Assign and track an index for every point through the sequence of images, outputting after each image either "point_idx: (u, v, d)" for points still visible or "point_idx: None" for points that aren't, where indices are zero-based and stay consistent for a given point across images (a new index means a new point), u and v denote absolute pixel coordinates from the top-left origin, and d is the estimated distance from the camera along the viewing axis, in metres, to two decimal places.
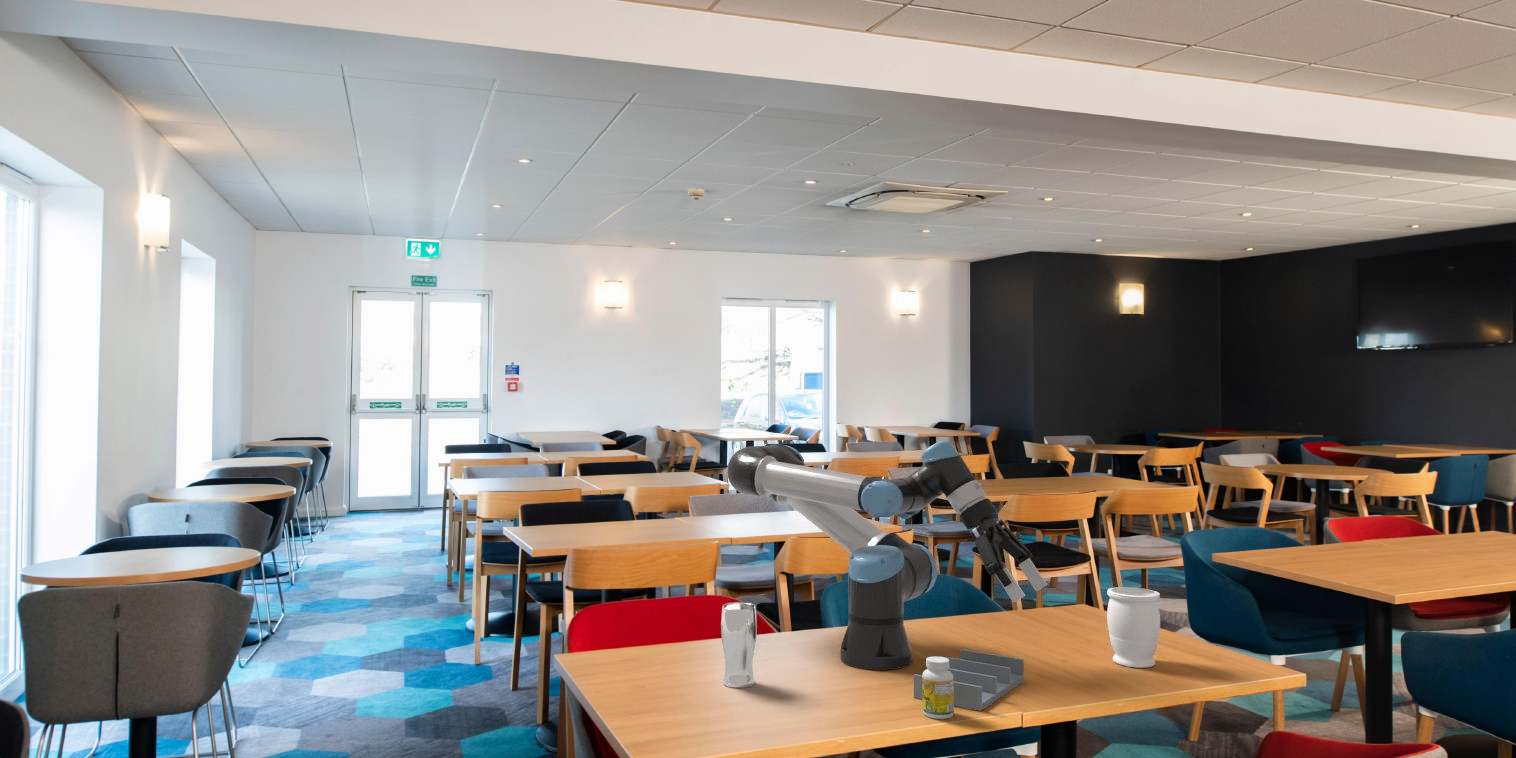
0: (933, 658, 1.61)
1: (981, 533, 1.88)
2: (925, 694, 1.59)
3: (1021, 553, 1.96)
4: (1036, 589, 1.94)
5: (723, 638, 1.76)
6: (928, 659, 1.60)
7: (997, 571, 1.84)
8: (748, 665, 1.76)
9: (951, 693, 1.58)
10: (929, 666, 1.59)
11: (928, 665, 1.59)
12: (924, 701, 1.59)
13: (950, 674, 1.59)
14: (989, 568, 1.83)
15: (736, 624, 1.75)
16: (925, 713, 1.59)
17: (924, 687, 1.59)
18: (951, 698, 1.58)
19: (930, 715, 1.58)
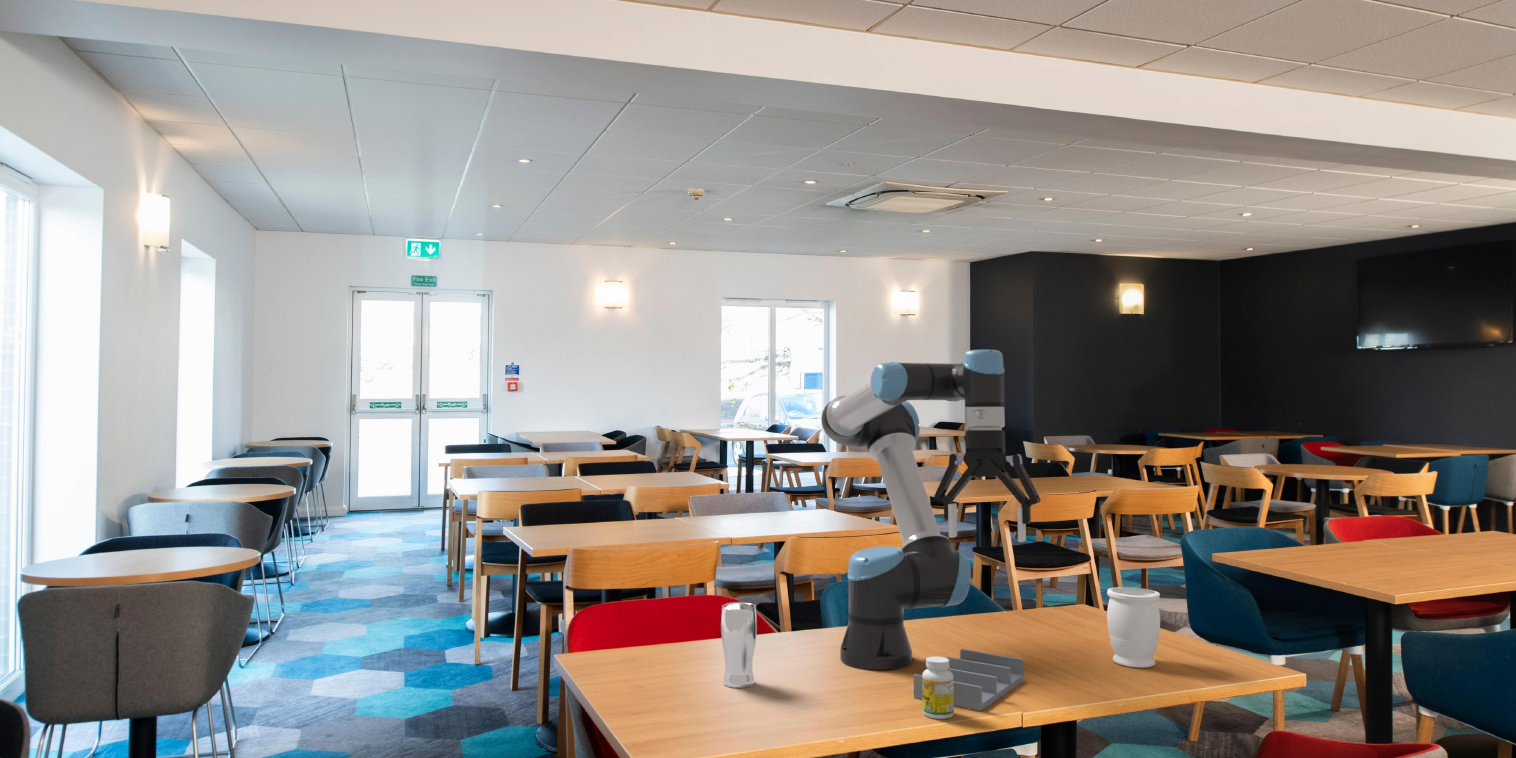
0: (933, 658, 1.61)
1: (949, 462, 1.80)
2: (925, 694, 1.59)
3: None
4: None
5: (723, 638, 1.76)
6: (928, 659, 1.60)
7: None
8: (748, 665, 1.76)
9: (951, 693, 1.58)
10: (929, 666, 1.59)
11: (928, 665, 1.59)
12: (924, 701, 1.59)
13: (950, 674, 1.59)
14: None
15: (736, 624, 1.75)
16: (925, 713, 1.59)
17: (924, 687, 1.59)
18: (951, 698, 1.58)
19: (930, 715, 1.58)
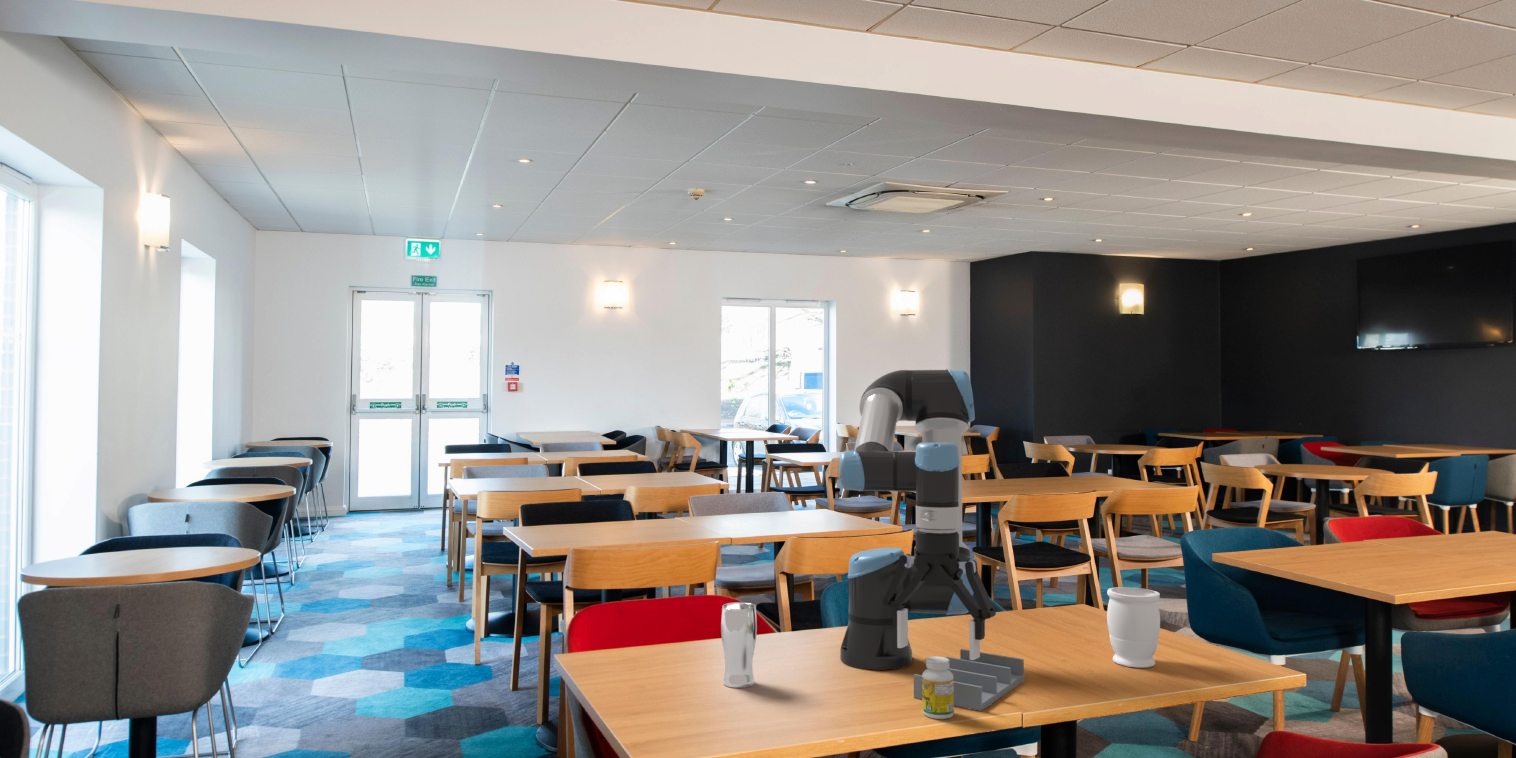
0: (933, 658, 1.61)
1: None
2: (925, 694, 1.59)
3: None
4: None
5: (723, 638, 1.76)
6: (928, 659, 1.60)
7: None
8: (748, 665, 1.76)
9: (951, 693, 1.58)
10: (929, 666, 1.59)
11: (928, 665, 1.59)
12: (924, 701, 1.59)
13: (950, 674, 1.59)
14: None
15: (736, 624, 1.75)
16: (925, 713, 1.59)
17: (924, 687, 1.59)
18: (951, 698, 1.58)
19: (930, 715, 1.58)
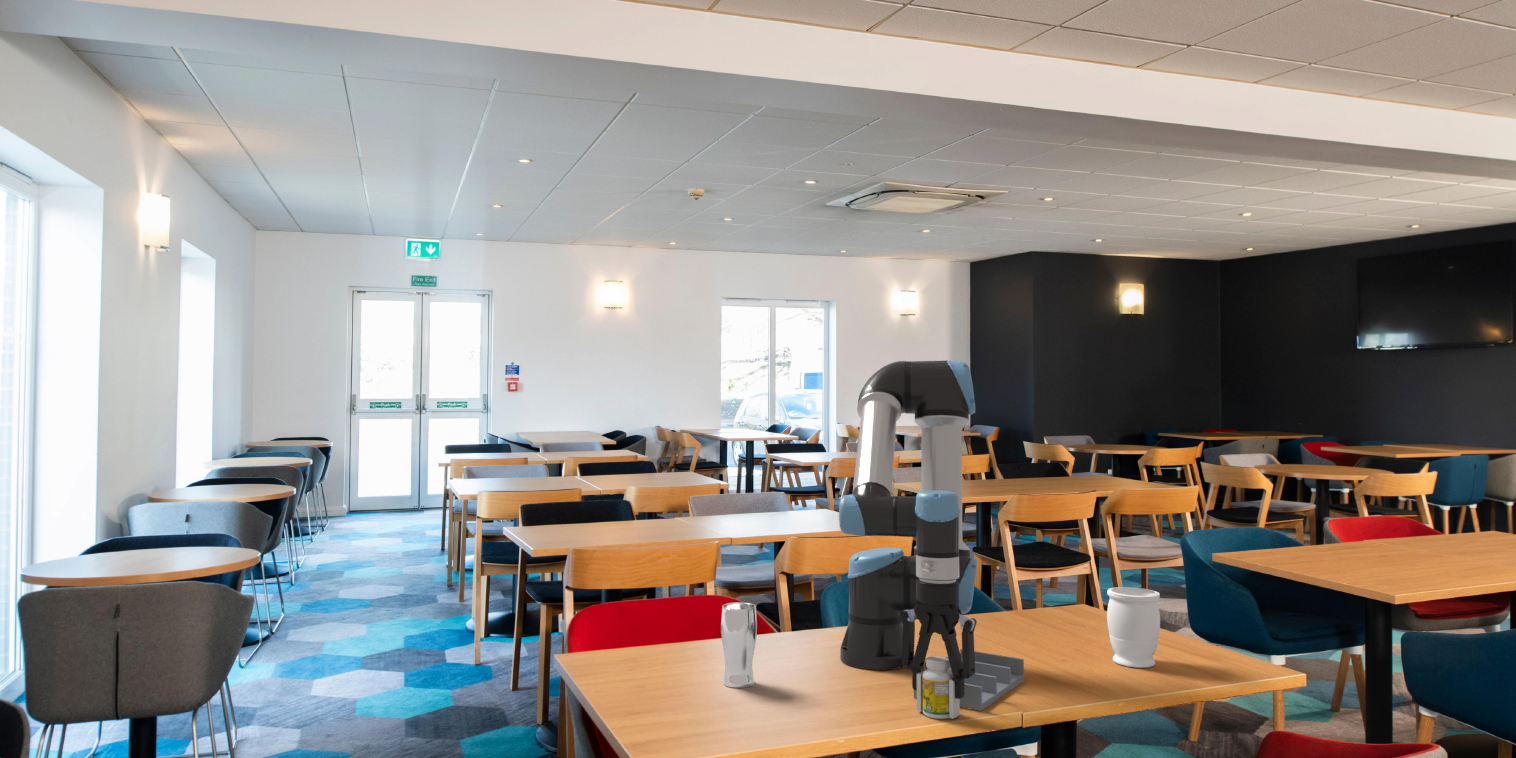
0: (933, 658, 1.61)
1: None
2: (925, 694, 1.59)
3: None
4: None
5: (723, 638, 1.76)
6: (928, 659, 1.60)
7: None
8: (748, 665, 1.76)
9: None
10: (929, 666, 1.59)
11: (928, 665, 1.59)
12: (924, 701, 1.59)
13: (950, 674, 1.59)
14: None
15: (736, 624, 1.75)
16: (925, 713, 1.59)
17: (924, 687, 1.59)
18: None
19: (930, 715, 1.58)
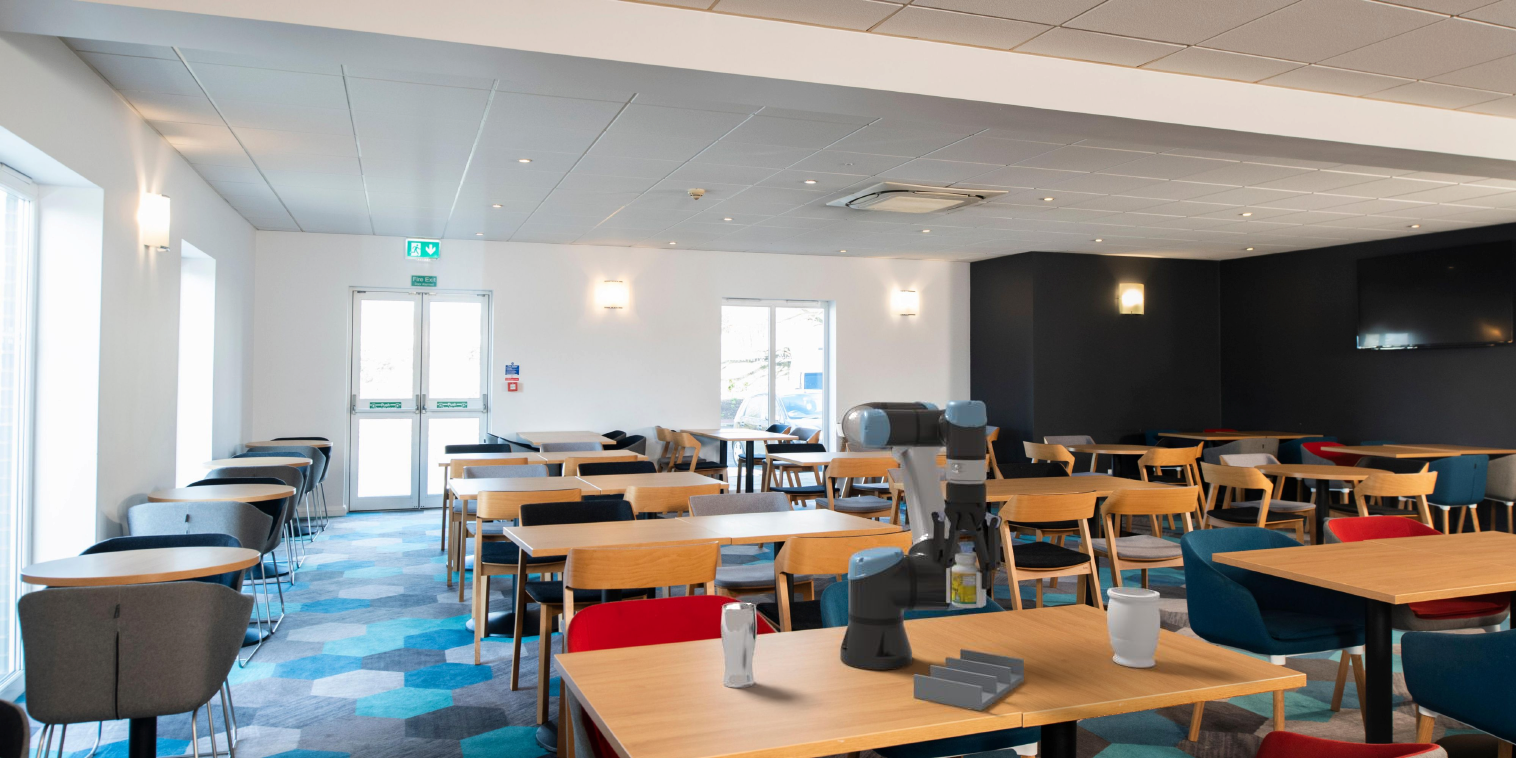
0: (961, 554, 1.74)
1: None
2: (954, 585, 1.73)
3: None
4: None
5: (723, 638, 1.76)
6: (957, 554, 1.74)
7: None
8: (748, 665, 1.76)
9: None
10: (958, 560, 1.73)
11: (957, 559, 1.73)
12: (953, 592, 1.73)
13: (977, 568, 1.72)
14: None
15: (736, 623, 1.75)
16: (954, 603, 1.73)
17: (953, 579, 1.73)
18: None
19: (958, 604, 1.72)
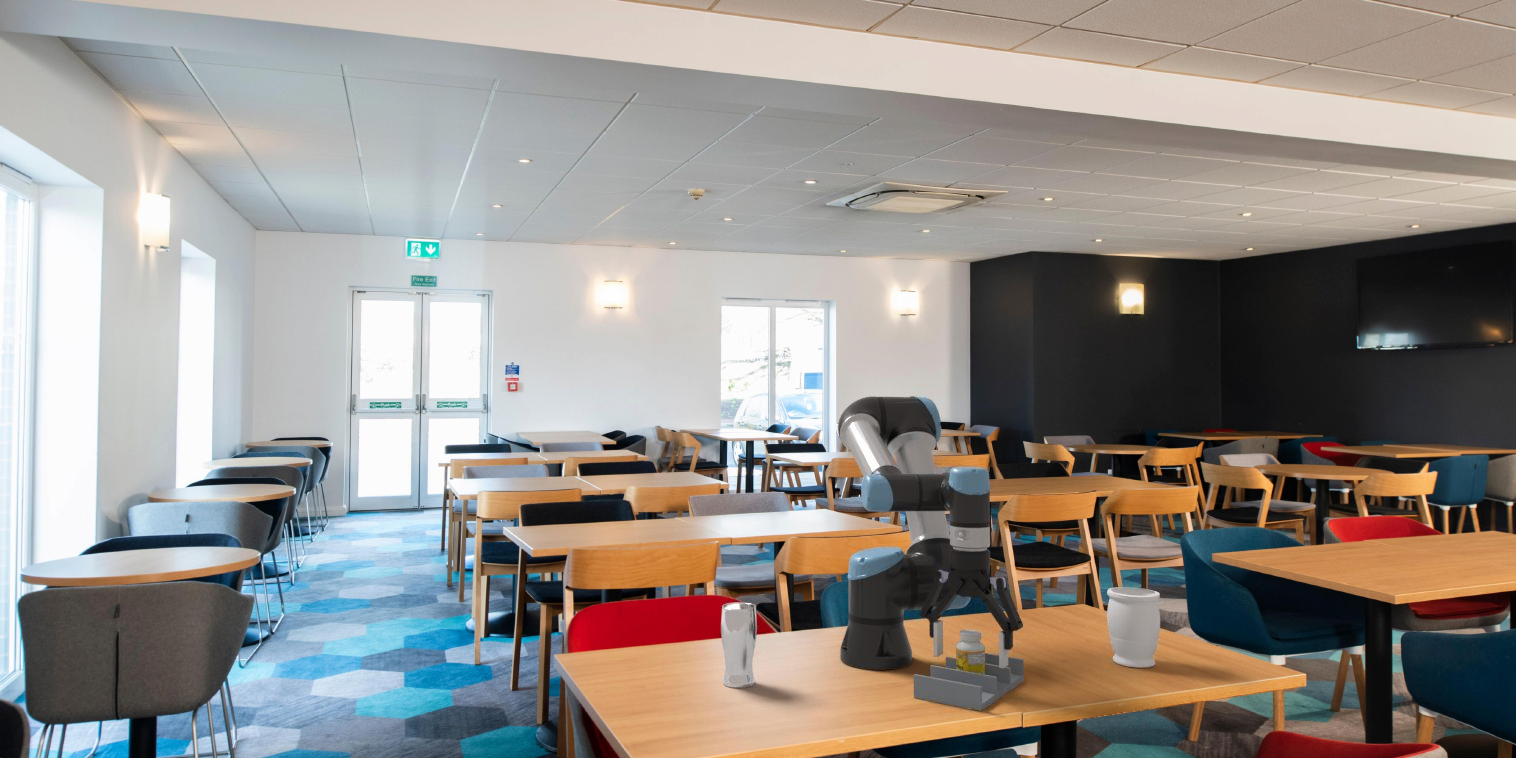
0: (966, 631, 1.75)
1: None
2: (959, 663, 1.73)
3: None
4: None
5: (723, 638, 1.76)
6: (962, 631, 1.75)
7: None
8: (748, 665, 1.76)
9: (983, 662, 1.73)
10: (963, 638, 1.74)
11: (962, 637, 1.74)
12: None
13: (982, 645, 1.73)
14: None
15: (736, 624, 1.75)
16: None
17: (958, 657, 1.74)
18: (983, 667, 1.73)
19: None
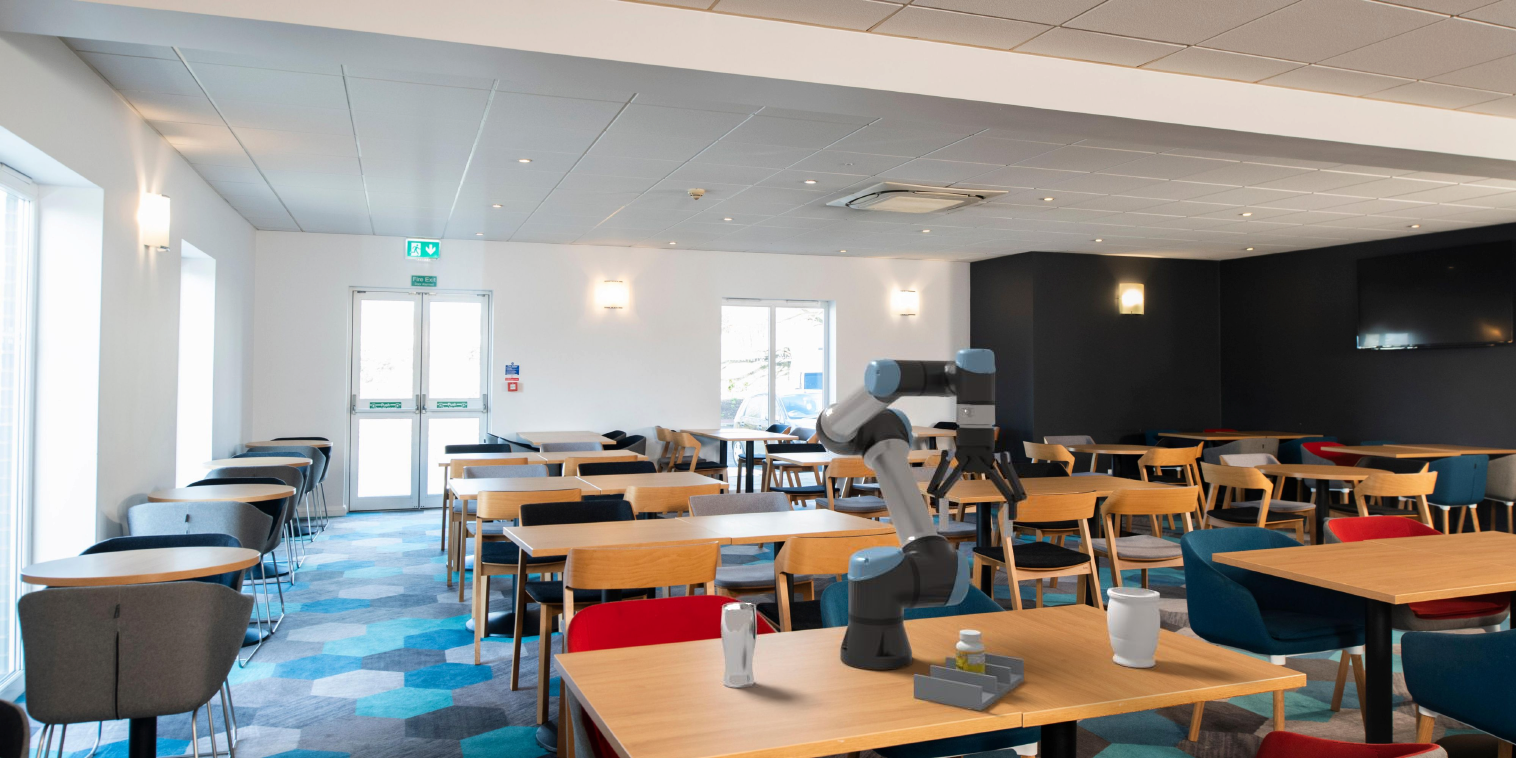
0: (966, 631, 1.75)
1: None
2: (959, 663, 1.73)
3: None
4: None
5: (723, 638, 1.76)
6: (961, 632, 1.75)
7: None
8: (748, 665, 1.76)
9: (983, 663, 1.73)
10: (962, 638, 1.73)
11: (961, 637, 1.74)
12: None
13: (982, 645, 1.73)
14: None
15: (736, 624, 1.75)
16: None
17: (958, 657, 1.74)
18: (983, 667, 1.73)
19: None
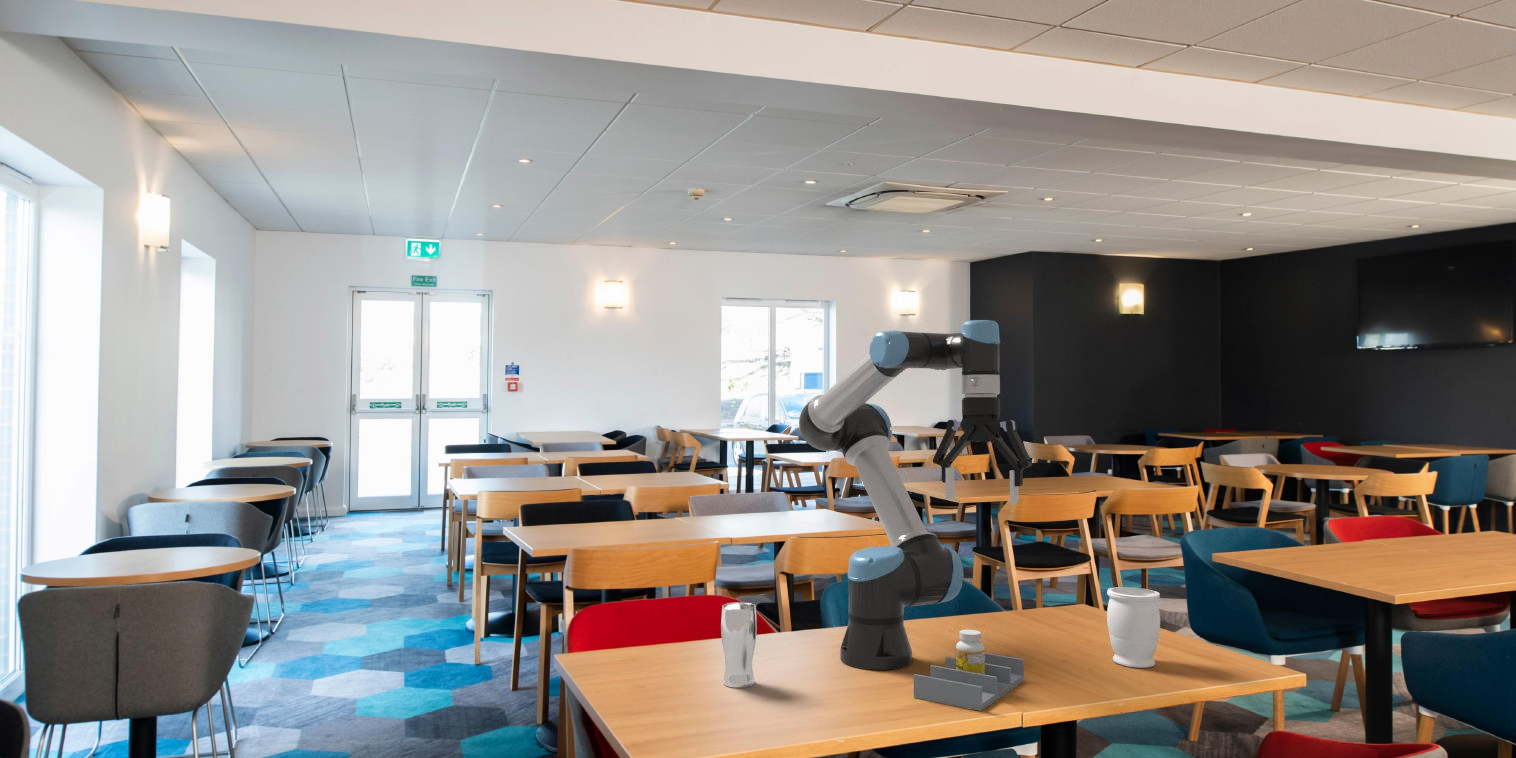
0: (966, 631, 1.75)
1: None
2: (959, 663, 1.73)
3: None
4: None
5: (723, 638, 1.76)
6: (961, 632, 1.75)
7: None
8: (748, 665, 1.76)
9: (983, 662, 1.73)
10: (962, 638, 1.74)
11: (961, 637, 1.74)
12: None
13: (982, 645, 1.73)
14: None
15: (736, 624, 1.75)
16: None
17: (958, 657, 1.74)
18: (983, 667, 1.73)
19: None
